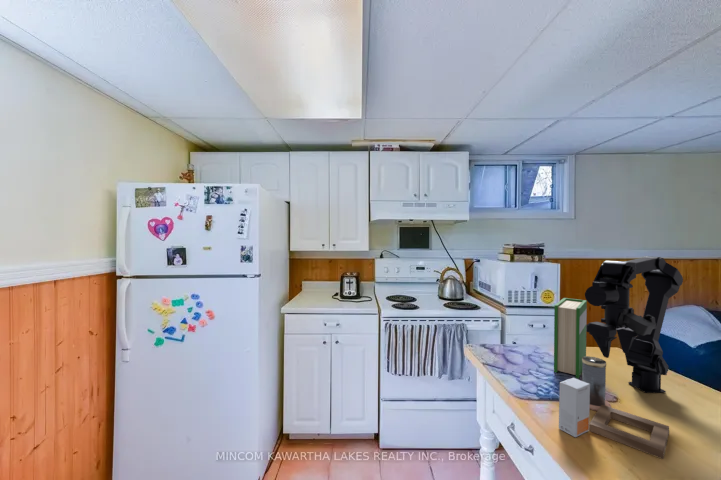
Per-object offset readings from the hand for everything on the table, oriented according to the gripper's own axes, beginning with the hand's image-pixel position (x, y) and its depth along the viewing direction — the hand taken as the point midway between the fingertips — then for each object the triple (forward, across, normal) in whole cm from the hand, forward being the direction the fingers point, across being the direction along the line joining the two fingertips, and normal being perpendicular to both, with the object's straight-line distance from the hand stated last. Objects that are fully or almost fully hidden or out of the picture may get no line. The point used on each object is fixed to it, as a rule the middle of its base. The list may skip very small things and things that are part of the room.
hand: (616, 355), depth 94 cm
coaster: (+13, -9, 0) cm, 16 cm away
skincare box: (+13, -27, -6) cm, 30 cm away
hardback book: (+13, +10, +20) cm, 26 cm away
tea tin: (+12, -9, 0) cm, 15 cm away
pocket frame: (+13, -15, -11) cm, 23 cm away
